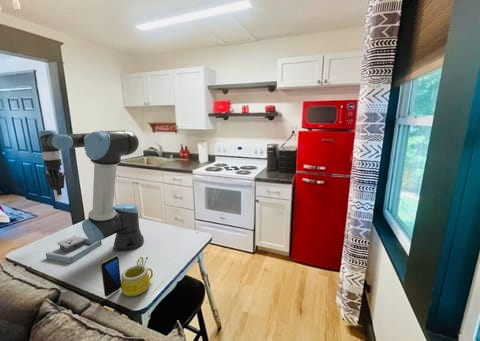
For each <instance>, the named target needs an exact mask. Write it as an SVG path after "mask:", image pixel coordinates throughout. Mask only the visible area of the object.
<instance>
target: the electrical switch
mask: <svg viewBox="0 0 480 341" xmlns="http://www.w3.org/2000/svg"><path fill="white" fill-rule="evenodd" d="M80 237H81V236H77V235H74V236H71V237H68V238H66V239H63V240H60V241H57V243H56V245H58V246H59V249H60V250H61V251H65V252H67V253H69V252H71V251H74V250H77V249H79V248H81V247H83V246H84V243H83V241H84V239H83V238H80Z"/></svg>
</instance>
